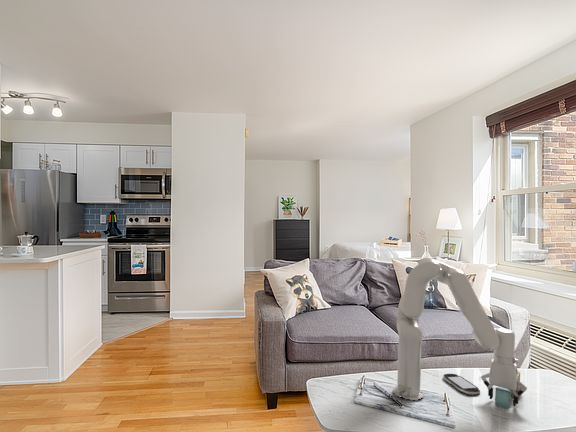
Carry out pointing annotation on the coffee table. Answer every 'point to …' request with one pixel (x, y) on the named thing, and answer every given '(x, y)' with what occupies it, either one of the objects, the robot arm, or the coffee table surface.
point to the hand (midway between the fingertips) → (502, 401)
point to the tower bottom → (513, 393)
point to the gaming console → (461, 384)
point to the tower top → (518, 377)
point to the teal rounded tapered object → (502, 397)
